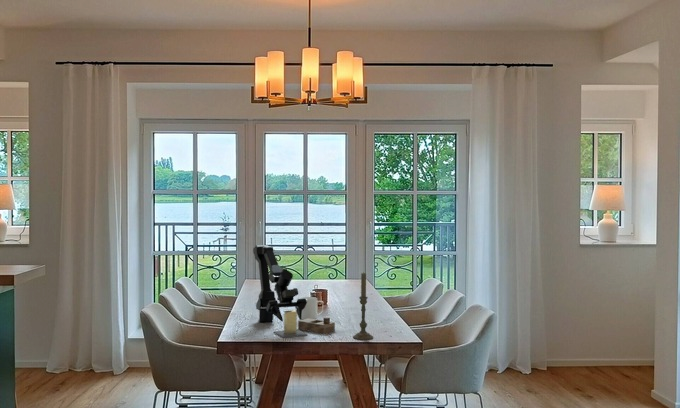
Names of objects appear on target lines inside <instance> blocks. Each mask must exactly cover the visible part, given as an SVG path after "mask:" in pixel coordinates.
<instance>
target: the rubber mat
mask: <svg viewBox="0 0 680 408" xmlns="http://www.w3.org/2000/svg"><path fill="white" fill-rule="evenodd" d="M273 334H275V335H276V336H278V337H280V338H282V339H288V338H289V339H290V338H296V337H299V338H300V337H306V336H308V334H307V333H306V332H303V330H300V329H298V328H297V333H292V334H286V333H284V330H277V331H276V330H274V331H273Z"/></svg>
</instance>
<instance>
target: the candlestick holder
mask: <svg viewBox="0 0 680 408" xmlns="http://www.w3.org/2000/svg"><path fill="white" fill-rule="evenodd" d="M360 275H361V277H360V279H361V282H360V284H361V285H360V296H359V303H360V305H361V309H360V311H361V321H360V322H359V324H358V325H359V327H360V330H359V332H357V333H355V334H354V335H353V337H352V338H353V339H354V340H357V341H359V340H360V341H369V340H373V339H374V336H373V335H371V334H370V333H369V332H367V331H366V328H367V325H368V323H367V322H366V319H365V318H366V310H367V309H366V304H367V303H368V296H367V273H365V272H364V271H363V272H361V274H360Z"/></svg>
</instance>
